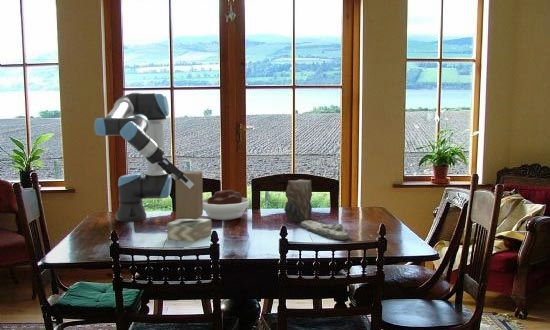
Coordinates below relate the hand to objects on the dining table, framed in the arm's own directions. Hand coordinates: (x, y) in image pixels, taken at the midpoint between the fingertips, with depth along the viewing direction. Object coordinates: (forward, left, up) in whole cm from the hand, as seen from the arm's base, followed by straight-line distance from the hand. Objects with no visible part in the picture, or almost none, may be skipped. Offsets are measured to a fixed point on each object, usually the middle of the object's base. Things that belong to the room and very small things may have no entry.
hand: (187, 184), depth 240 cm
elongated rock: (+53, +29, -24) cm, 65 cm away
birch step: (0, +1, -23) cm, 23 cm away
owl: (+33, +52, -24) cm, 66 cm away
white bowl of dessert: (-4, +41, -24) cm, 47 cm away
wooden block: (+1, 0, -15) cm, 15 cm away
